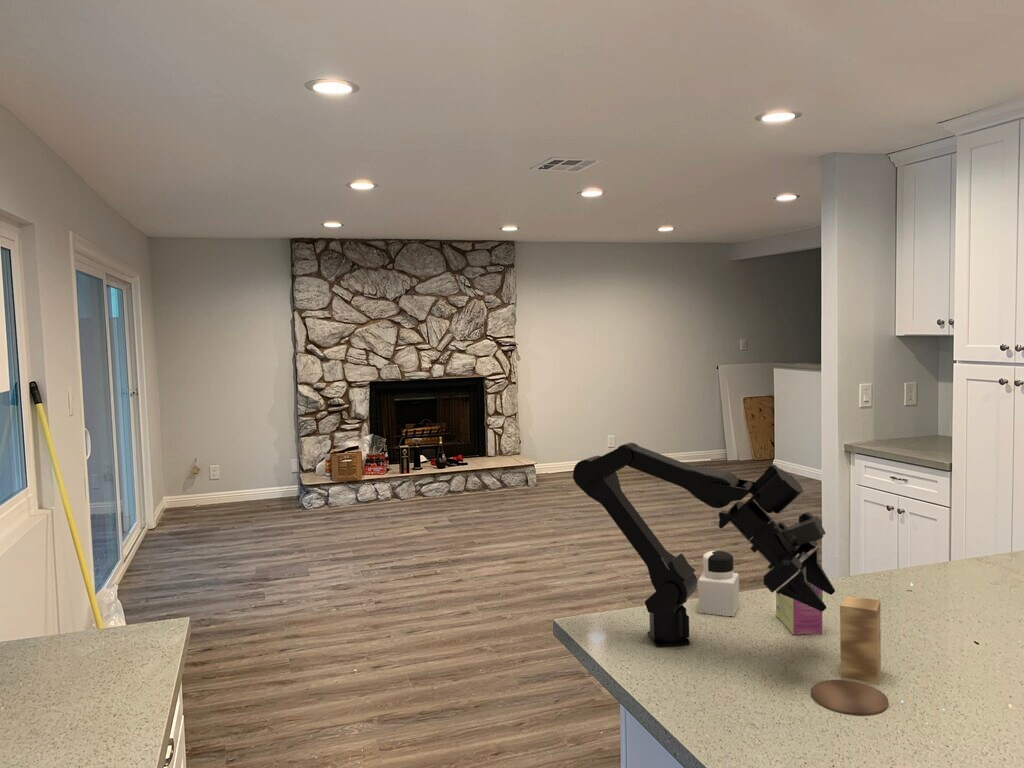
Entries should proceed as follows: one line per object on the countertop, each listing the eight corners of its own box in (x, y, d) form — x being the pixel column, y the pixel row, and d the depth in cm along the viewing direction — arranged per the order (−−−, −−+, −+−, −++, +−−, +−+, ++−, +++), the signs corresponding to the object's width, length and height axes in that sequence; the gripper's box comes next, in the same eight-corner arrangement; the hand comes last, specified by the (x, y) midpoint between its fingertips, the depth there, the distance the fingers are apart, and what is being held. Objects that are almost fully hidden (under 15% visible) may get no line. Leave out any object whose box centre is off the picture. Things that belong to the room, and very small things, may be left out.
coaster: (832, 717, 113) (832, 714, 113) (798, 685, 124) (798, 682, 124) (903, 712, 114) (903, 709, 114) (863, 680, 125) (863, 677, 125)
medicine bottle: (739, 606, 162) (738, 550, 161) (734, 617, 155) (733, 559, 155) (705, 602, 165) (704, 547, 164) (698, 613, 158) (697, 555, 158)
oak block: (840, 677, 127) (839, 605, 126) (845, 664, 132) (844, 595, 131) (877, 683, 124) (876, 610, 123) (880, 670, 129) (880, 600, 128)
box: (823, 634, 145) (823, 573, 144) (793, 635, 145) (792, 573, 144) (804, 615, 155) (803, 557, 155) (775, 616, 155) (774, 558, 155)
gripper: (782, 511, 124) (858, 588, 119) (804, 490, 140) (871, 557, 134) (734, 554, 128) (805, 630, 123) (760, 529, 144) (824, 595, 139)
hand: (829, 601), depth 130 cm, fingers open, 9 cm apart
